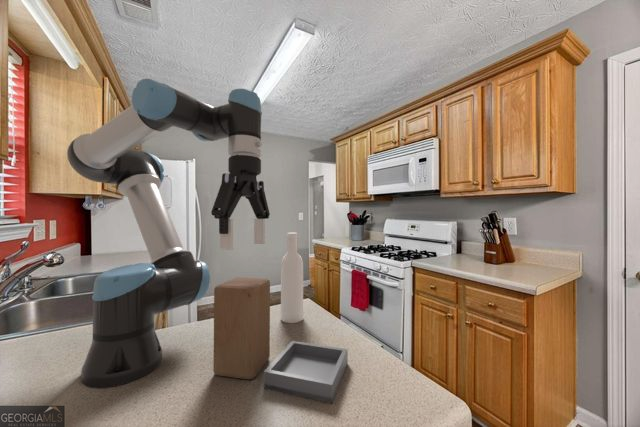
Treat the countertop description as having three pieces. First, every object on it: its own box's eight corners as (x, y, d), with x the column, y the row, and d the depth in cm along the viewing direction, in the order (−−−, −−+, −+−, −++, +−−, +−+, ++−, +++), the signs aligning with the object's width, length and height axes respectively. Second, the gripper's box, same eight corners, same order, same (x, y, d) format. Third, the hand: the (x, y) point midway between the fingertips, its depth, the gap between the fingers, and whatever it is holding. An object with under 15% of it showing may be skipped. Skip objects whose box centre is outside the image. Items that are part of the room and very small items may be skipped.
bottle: (281, 324, 88) (282, 233, 88) (279, 316, 95) (279, 232, 96) (305, 322, 90) (305, 233, 91) (301, 314, 98) (301, 232, 98)
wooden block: (253, 382, 57) (254, 288, 57) (211, 376, 59) (212, 285, 59) (271, 358, 67) (271, 278, 67) (234, 354, 69) (235, 276, 69)
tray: (263, 388, 55) (263, 371, 55) (292, 354, 69) (292, 340, 69) (331, 403, 50) (331, 385, 50) (347, 363, 64) (347, 349, 64)
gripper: (224, 141, 51) (224, 253, 50) (282, 166, 75) (281, 242, 74) (192, 145, 53) (192, 251, 53) (258, 167, 77) (258, 241, 76)
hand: (244, 246), depth 63 cm, fingers open, 13 cm apart
